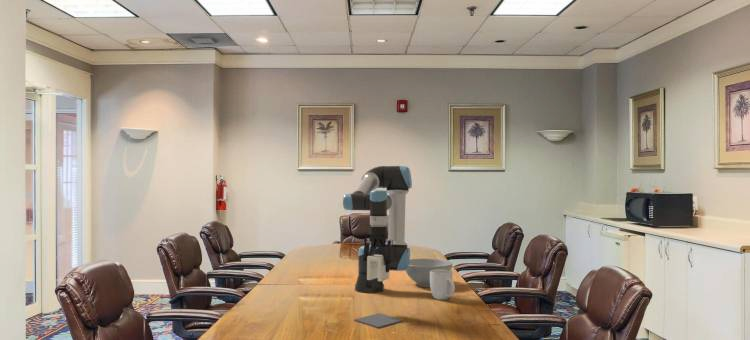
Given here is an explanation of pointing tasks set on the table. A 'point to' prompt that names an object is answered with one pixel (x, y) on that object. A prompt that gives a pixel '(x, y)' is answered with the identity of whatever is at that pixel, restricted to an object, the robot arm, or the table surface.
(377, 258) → the white upright block
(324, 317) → the table surface
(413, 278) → the decorative bowl
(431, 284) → the mug
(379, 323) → the mat
